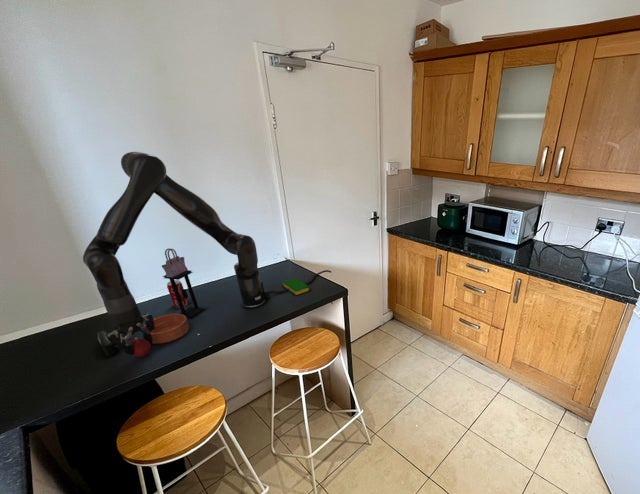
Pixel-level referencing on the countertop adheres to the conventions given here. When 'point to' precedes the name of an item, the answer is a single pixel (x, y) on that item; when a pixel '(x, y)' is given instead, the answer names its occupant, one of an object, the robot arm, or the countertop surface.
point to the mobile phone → (105, 343)
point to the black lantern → (177, 271)
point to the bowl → (169, 328)
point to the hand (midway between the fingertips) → (140, 348)
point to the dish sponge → (296, 286)
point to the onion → (140, 347)
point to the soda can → (179, 287)
